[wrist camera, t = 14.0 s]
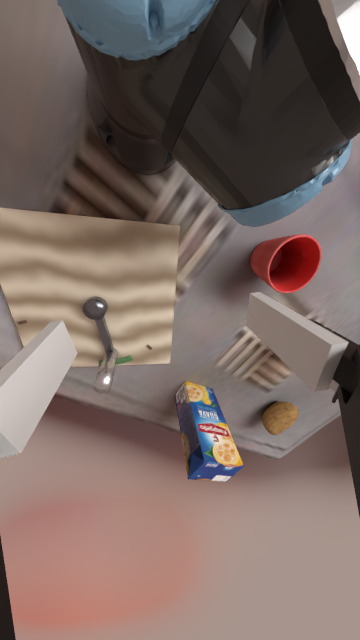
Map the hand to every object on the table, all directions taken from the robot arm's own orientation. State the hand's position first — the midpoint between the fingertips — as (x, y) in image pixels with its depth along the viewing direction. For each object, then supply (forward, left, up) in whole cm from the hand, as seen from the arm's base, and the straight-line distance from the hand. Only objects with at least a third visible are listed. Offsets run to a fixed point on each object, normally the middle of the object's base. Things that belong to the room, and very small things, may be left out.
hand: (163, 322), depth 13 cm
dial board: (+10, -12, -29) cm, 33 cm away
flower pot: (-2, +26, -29) cm, 39 cm away
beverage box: (+41, +14, -29) cm, 52 cm away
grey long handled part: (+16, -11, -27) cm, 33 cm away
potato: (+52, +47, -29) cm, 76 cm away
